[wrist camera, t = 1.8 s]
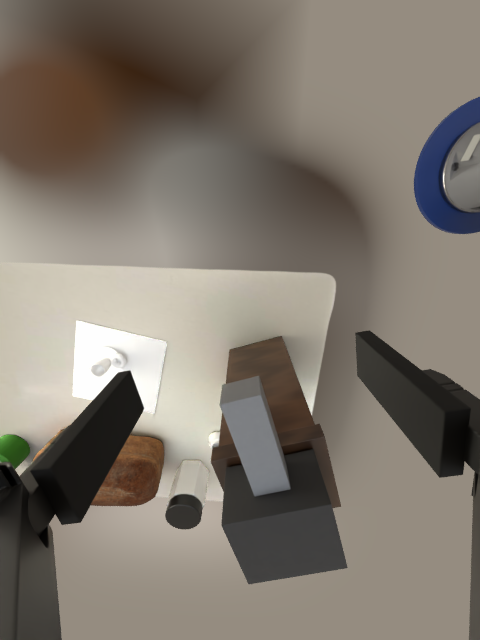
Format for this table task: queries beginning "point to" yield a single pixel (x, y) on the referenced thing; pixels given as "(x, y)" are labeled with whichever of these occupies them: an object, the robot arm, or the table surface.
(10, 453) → the candle
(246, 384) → the sledgehammer head
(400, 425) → the robot arm
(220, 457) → the stand
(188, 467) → the jar
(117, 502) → the bread
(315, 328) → the table surface
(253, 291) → the table surface
